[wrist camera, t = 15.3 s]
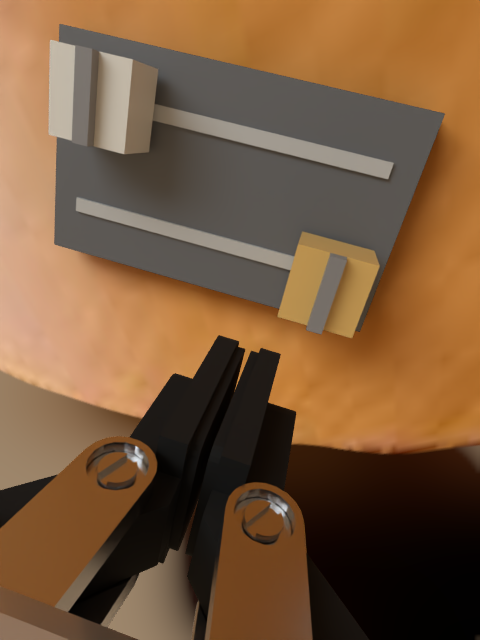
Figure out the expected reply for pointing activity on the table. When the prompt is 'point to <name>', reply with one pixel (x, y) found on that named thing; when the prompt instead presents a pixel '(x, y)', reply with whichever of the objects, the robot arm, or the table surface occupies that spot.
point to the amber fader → (328, 285)
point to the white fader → (100, 99)
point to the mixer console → (240, 174)
